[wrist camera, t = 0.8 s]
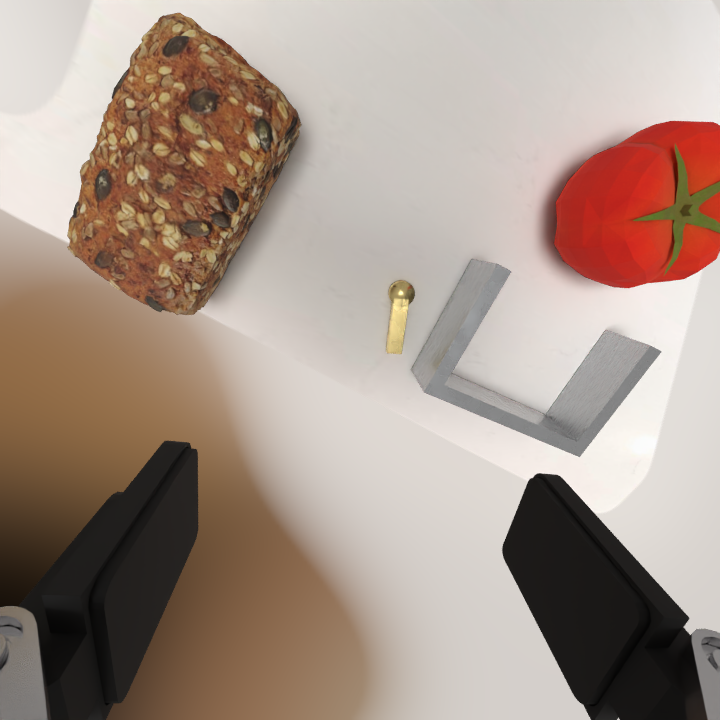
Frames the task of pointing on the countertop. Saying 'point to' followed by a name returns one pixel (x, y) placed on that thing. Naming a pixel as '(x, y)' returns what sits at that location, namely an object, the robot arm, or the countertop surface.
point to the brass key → (398, 314)
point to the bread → (179, 167)
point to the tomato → (644, 207)
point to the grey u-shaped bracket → (557, 428)
